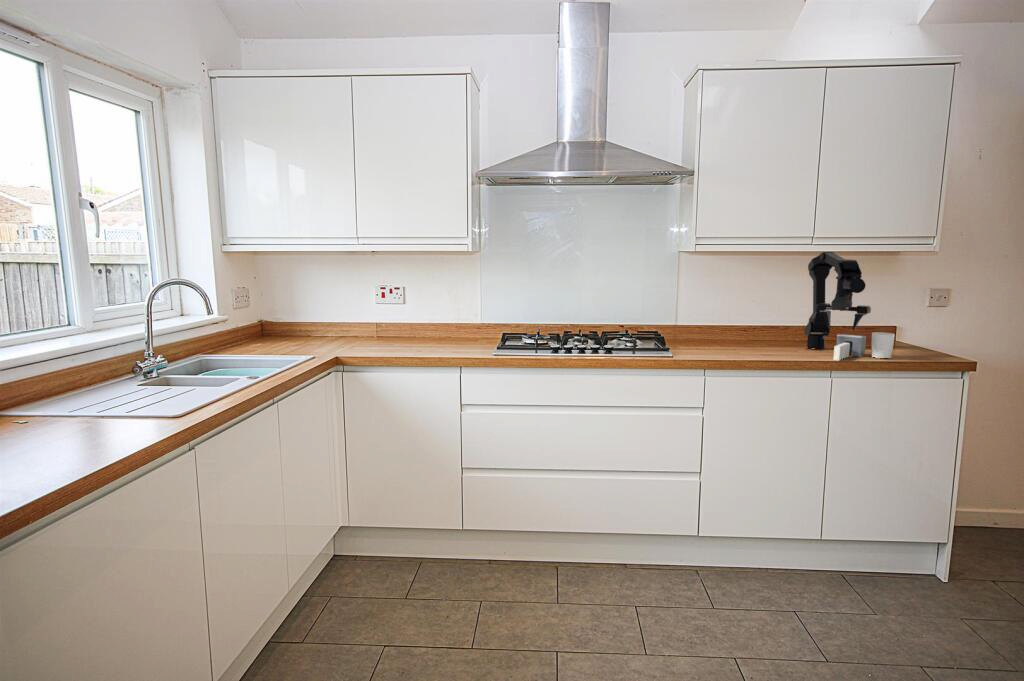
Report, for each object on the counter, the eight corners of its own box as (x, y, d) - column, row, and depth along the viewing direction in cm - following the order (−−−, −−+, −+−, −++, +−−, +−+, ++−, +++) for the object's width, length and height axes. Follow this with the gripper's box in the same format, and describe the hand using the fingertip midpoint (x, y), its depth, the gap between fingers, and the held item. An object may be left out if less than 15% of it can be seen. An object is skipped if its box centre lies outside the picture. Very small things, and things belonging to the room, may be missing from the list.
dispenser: (840, 352, 249) (842, 332, 248) (864, 355, 243) (866, 334, 242) (835, 354, 244) (837, 334, 243) (860, 357, 238) (861, 336, 236)
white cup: (869, 358, 236) (871, 333, 234) (870, 355, 242) (872, 331, 241) (892, 359, 231) (894, 335, 230) (892, 357, 238) (894, 333, 237)
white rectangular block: (843, 355, 239) (844, 342, 239) (848, 356, 238) (850, 342, 237) (833, 360, 229) (834, 346, 228) (839, 360, 227) (840, 346, 226)
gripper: (813, 291, 235) (810, 329, 238) (865, 293, 223) (861, 333, 225) (821, 289, 243) (818, 326, 246) (872, 292, 230) (868, 330, 233)
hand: (840, 329), depth 237 cm, fingers open, 9 cm apart
